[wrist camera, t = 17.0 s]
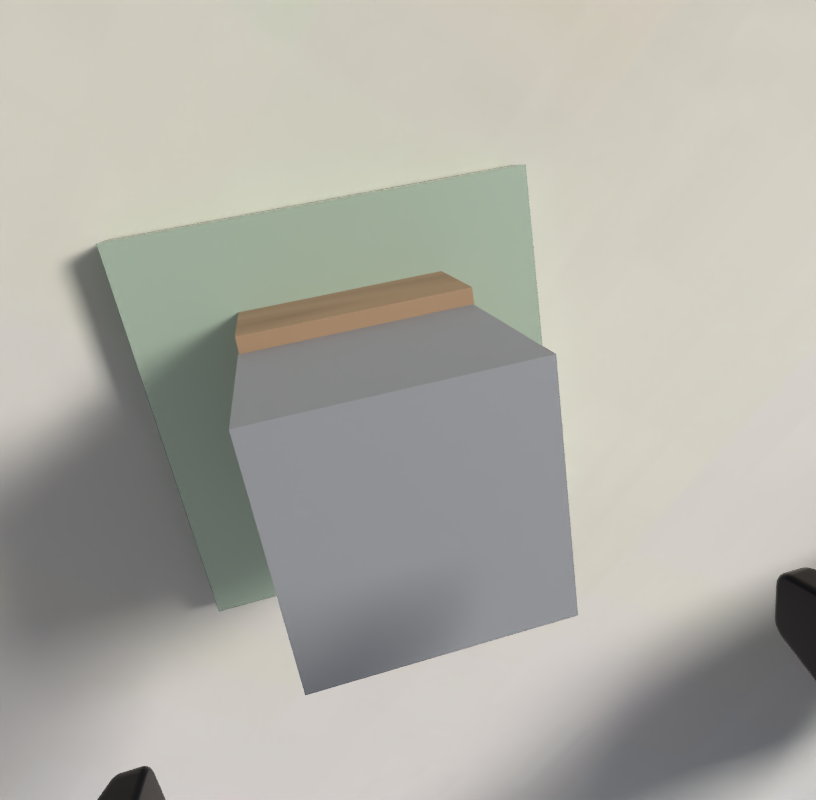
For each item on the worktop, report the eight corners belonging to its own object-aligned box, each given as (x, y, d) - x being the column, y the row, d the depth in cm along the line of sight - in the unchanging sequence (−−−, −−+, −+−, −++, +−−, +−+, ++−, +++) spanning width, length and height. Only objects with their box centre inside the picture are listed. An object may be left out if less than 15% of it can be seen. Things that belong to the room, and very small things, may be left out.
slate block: (499, 506, 19) (577, 614, 14) (293, 560, 18) (305, 695, 13) (473, 304, 16) (555, 353, 12) (237, 354, 16) (228, 429, 11)
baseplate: (547, 505, 24) (558, 519, 23) (220, 593, 22) (218, 611, 21) (512, 165, 20) (525, 164, 19) (105, 240, 18) (96, 243, 17)
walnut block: (471, 478, 22) (502, 522, 19) (293, 523, 21) (299, 576, 18) (441, 270, 19) (471, 287, 16) (238, 312, 18) (234, 336, 15)
